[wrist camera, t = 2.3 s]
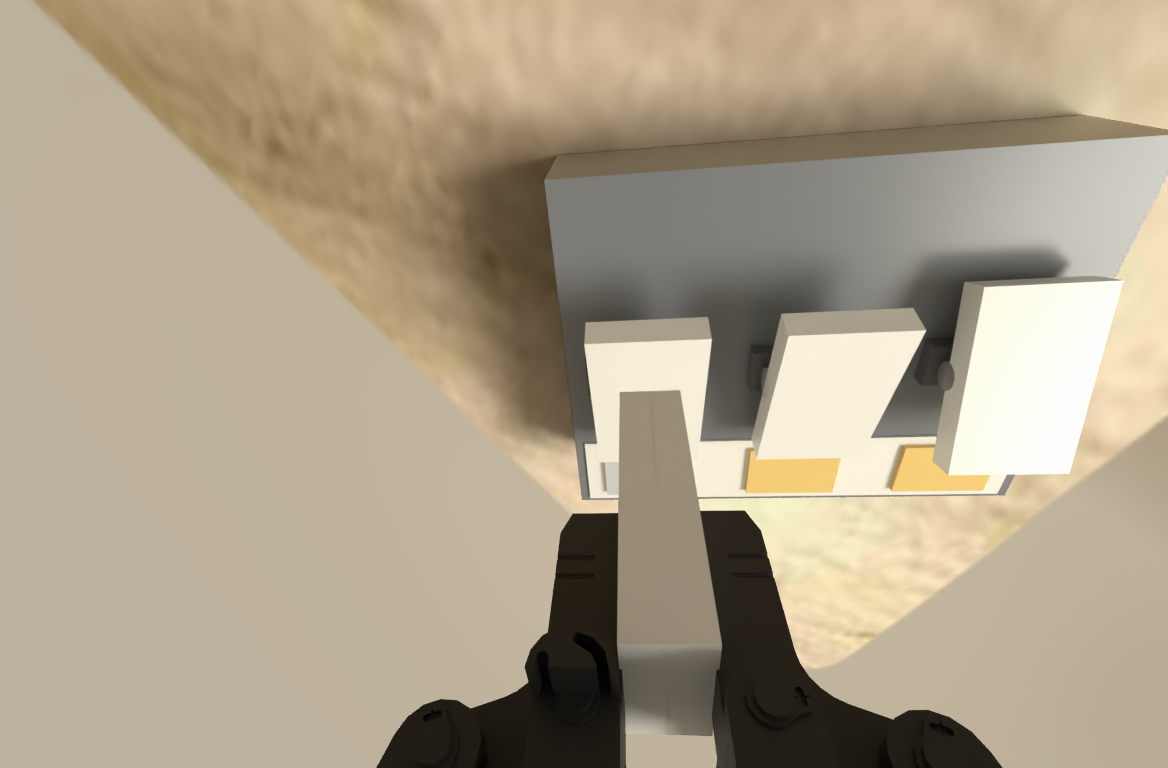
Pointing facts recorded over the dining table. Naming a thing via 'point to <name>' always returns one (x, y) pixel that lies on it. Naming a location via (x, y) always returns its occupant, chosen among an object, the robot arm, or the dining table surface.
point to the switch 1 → (646, 371)
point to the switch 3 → (1022, 374)
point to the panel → (834, 265)
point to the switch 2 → (832, 381)
